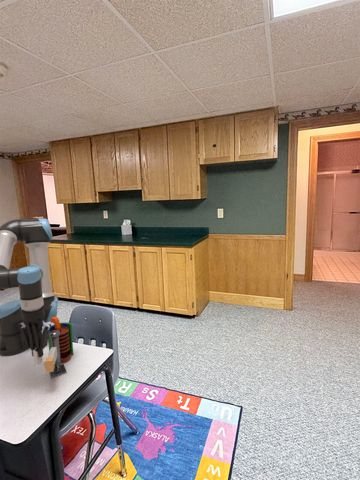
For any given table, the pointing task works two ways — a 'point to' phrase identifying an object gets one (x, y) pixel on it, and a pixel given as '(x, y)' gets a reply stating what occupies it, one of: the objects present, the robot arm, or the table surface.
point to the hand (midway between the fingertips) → (38, 363)
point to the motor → (63, 339)
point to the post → (58, 368)
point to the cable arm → (51, 360)
